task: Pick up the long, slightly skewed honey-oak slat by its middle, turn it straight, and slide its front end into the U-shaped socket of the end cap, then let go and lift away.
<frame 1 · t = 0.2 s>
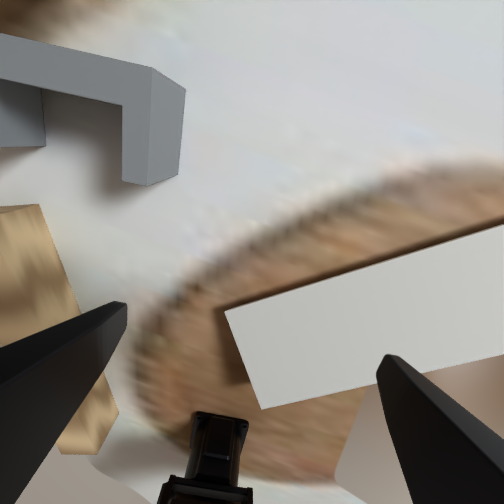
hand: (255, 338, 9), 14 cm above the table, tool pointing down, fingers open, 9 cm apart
oak slat: (70, 325, 28), on the table
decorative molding: (415, 290, 25), on the table
end cap: (102, 116, 20), on the table
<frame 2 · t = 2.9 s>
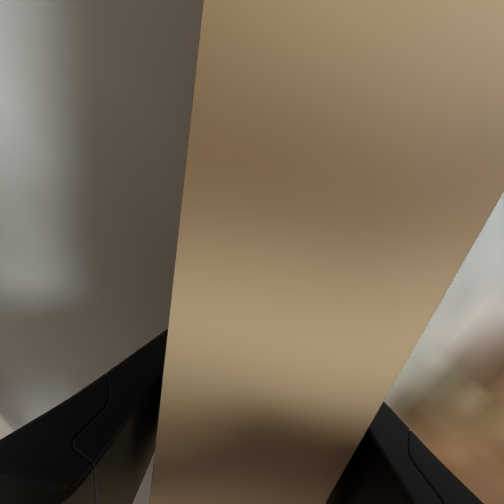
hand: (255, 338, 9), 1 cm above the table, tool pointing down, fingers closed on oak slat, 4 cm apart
oak slat: (256, 316, 10), on the table, touching gripper
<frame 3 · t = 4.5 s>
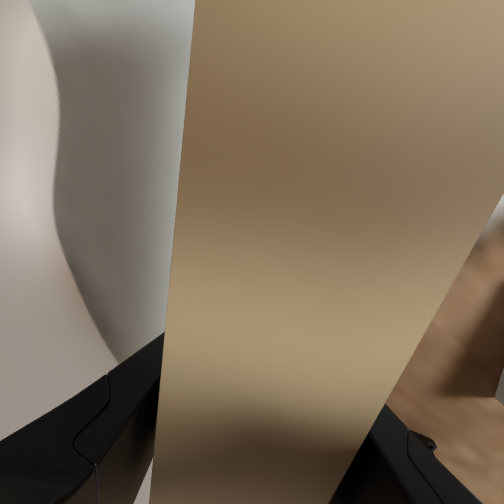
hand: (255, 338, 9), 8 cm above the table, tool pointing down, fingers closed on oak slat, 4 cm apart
oak slat: (256, 317, 10), point 7 cm above the table, touching gripper
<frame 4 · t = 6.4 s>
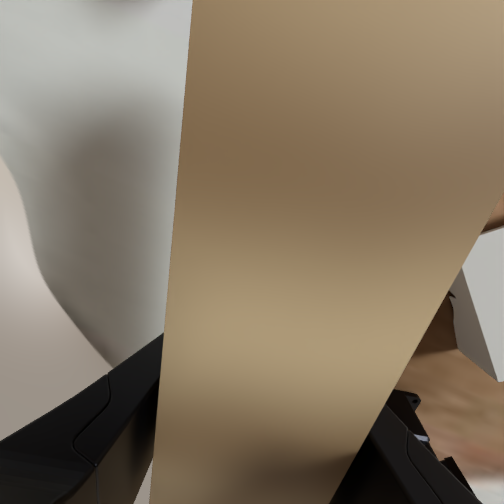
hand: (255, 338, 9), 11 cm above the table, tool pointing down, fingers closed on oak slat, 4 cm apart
oak slat: (256, 317, 10), point 10 cm above the table, touching gripper
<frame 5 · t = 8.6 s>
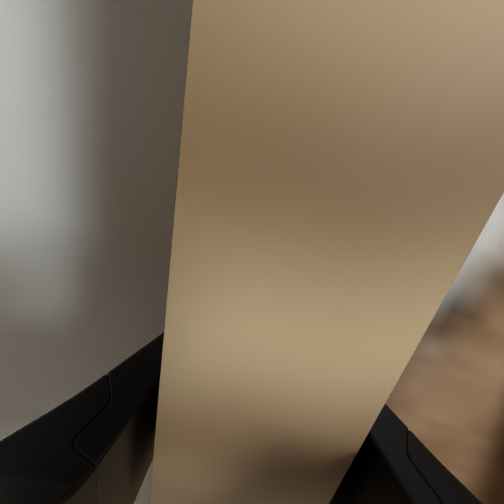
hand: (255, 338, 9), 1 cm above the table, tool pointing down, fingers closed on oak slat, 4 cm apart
oak slat: (256, 317, 10), on the table, touching gripper
when the fingers open (1 cm above the table, at t = 10.1 s): oak slat stays where it is, on the table.
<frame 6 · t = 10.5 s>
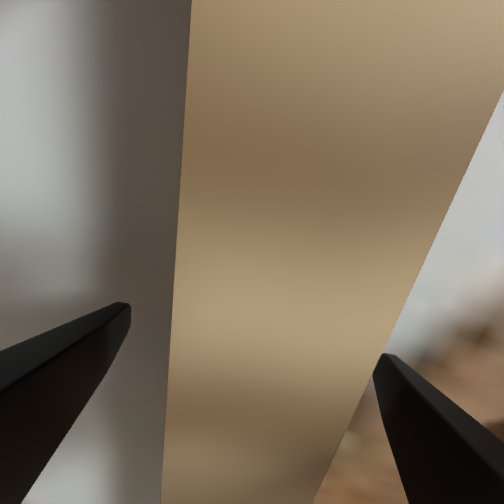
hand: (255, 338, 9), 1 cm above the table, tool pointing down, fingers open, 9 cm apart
oak slat: (258, 308, 11), on the table
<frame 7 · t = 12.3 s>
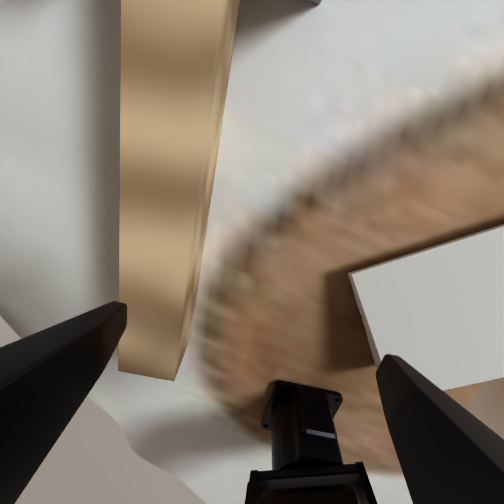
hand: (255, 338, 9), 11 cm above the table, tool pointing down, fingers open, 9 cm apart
oak slat: (184, 183, 18), on the table
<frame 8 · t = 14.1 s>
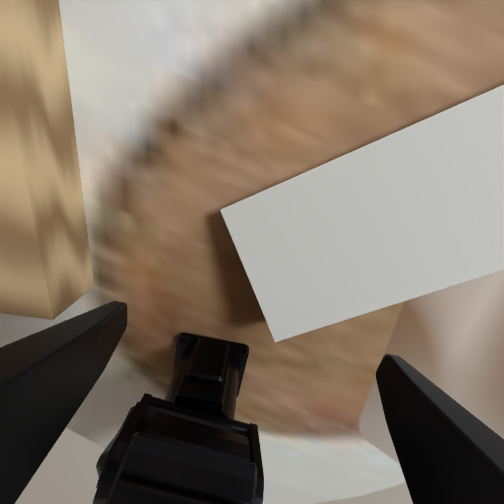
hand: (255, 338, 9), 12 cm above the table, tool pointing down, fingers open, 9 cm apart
oak slat: (47, 114, 18), on the table
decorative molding: (473, 175, 19), on the table
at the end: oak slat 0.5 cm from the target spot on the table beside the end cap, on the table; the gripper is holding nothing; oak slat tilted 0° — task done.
